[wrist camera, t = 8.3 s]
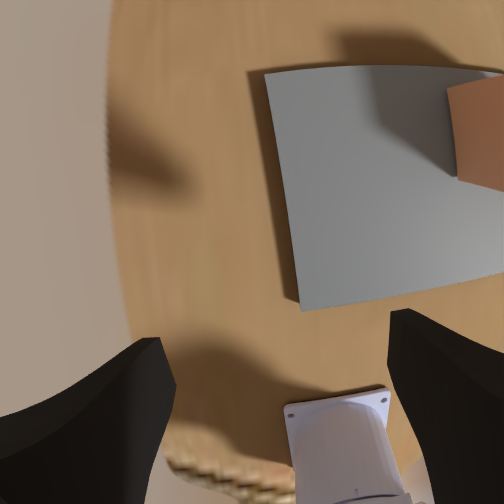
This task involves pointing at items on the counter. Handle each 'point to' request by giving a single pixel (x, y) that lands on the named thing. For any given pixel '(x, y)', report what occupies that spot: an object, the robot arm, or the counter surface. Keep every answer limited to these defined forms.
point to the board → (379, 183)
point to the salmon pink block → (479, 131)
